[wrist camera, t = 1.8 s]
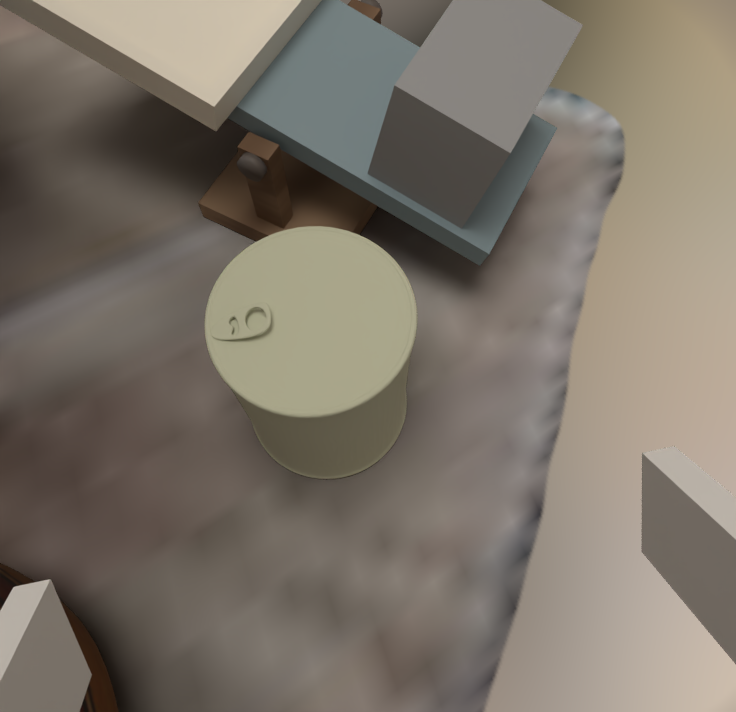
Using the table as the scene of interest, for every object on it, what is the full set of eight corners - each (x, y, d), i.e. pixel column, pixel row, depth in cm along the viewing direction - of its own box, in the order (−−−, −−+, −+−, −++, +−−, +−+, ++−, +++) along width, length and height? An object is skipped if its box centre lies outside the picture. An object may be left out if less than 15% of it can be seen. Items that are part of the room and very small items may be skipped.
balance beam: (0, 21, 35) (-73, -135, 27) (149, -119, 40) (123, -286, 32) (465, 293, 35) (527, 217, 27) (558, 121, 40) (634, 13, 32)
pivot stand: (203, 216, 43) (168, 131, 35) (315, 70, 48) (304, -31, 41) (332, 277, 41) (323, 200, 34) (434, 118, 46) (445, 21, 39)
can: (241, 347, 39) (189, 237, 28) (387, 319, 40) (392, 201, 29) (262, 494, 35) (212, 435, 24) (422, 461, 36) (443, 389, 25)
